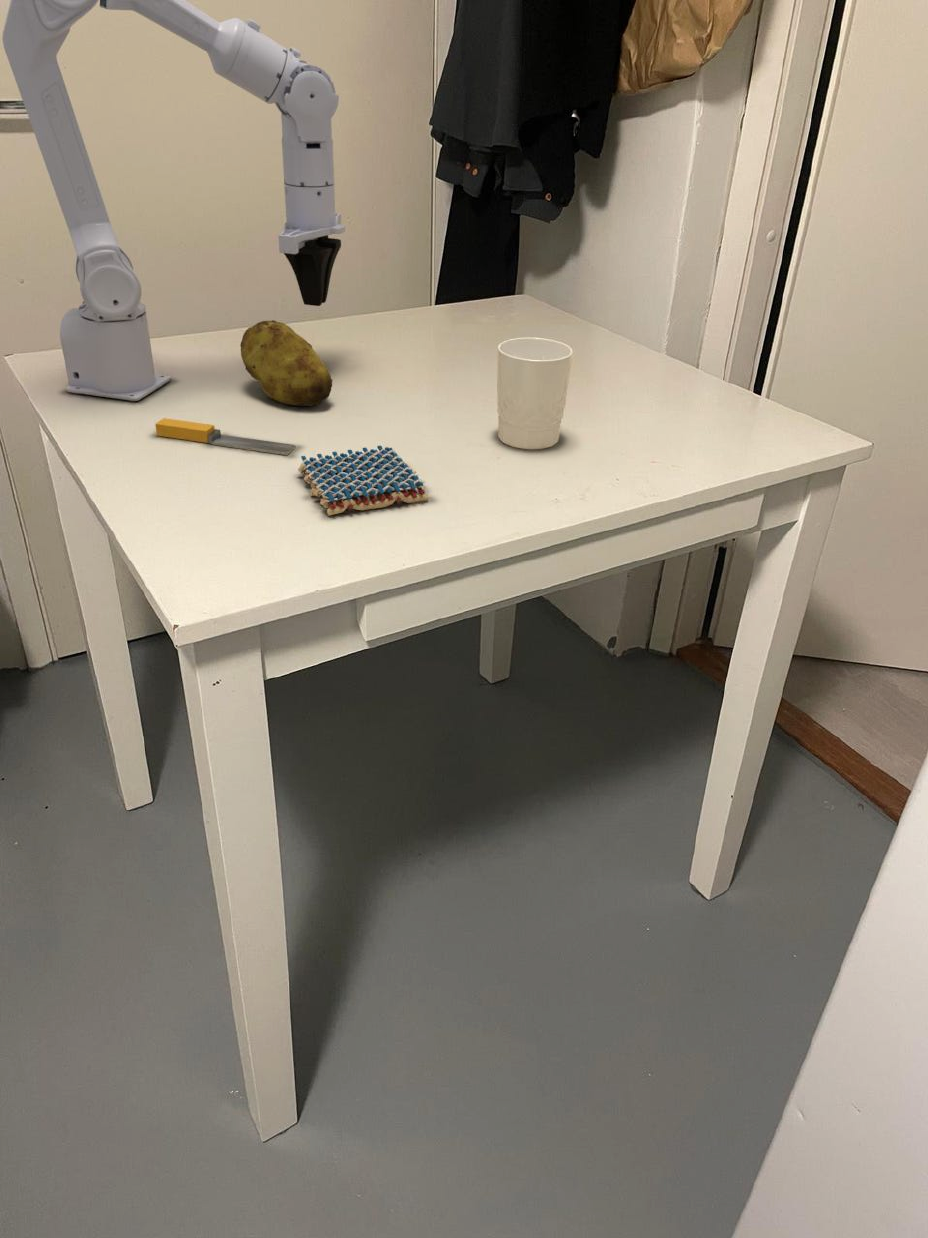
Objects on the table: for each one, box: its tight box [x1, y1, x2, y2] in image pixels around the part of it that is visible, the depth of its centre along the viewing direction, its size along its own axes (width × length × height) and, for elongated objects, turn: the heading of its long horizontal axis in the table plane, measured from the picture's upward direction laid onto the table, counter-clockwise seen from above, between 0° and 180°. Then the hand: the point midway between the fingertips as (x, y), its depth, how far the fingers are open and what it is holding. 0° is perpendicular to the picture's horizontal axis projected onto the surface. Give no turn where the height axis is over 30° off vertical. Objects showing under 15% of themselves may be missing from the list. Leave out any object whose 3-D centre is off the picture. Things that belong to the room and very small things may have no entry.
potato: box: [239, 319, 333, 407], centre depth 112 cm, size 8×13×8 cm, turn 28°
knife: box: [155, 417, 296, 456], centre depth 102 cm, size 15×2×1 cm, turn 75°
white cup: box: [496, 337, 574, 450], centre depth 103 cm, size 8×8×10 cm
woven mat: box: [297, 445, 430, 516], centre depth 93 cm, size 10×11×2 cm
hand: (314, 303), depth 118 cm, fingers closed
